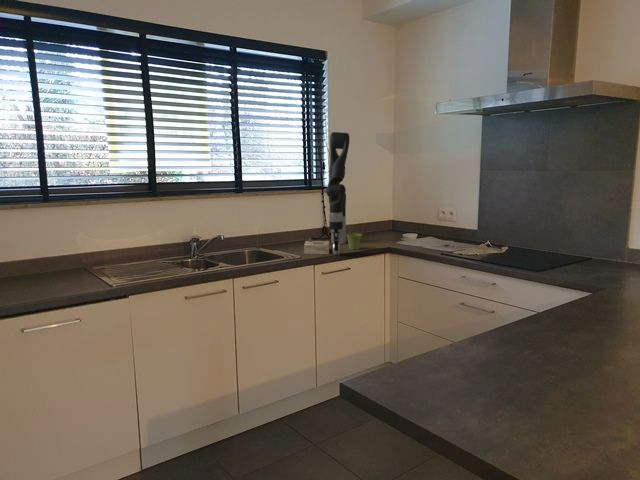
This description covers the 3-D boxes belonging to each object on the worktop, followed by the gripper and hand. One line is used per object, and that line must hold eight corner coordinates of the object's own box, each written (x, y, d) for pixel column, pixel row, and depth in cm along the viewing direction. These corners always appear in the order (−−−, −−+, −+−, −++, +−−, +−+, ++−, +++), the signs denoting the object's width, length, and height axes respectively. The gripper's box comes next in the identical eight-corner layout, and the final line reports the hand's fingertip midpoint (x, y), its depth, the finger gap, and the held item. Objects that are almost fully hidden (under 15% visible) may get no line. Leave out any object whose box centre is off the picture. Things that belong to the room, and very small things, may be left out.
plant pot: (354, 251, 272) (354, 236, 271) (343, 248, 280) (343, 234, 278) (365, 249, 278) (365, 234, 277) (354, 247, 285) (354, 233, 284)
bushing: (332, 253, 264) (332, 243, 263) (339, 253, 264) (339, 243, 263) (332, 255, 260) (332, 244, 259) (339, 255, 260) (339, 244, 259)
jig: (305, 249, 280) (305, 237, 278) (329, 249, 279) (329, 237, 278) (304, 254, 264) (304, 242, 263) (329, 254, 263) (328, 241, 262)
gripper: (329, 219, 266) (329, 247, 269) (329, 222, 252) (329, 252, 255) (342, 218, 266) (342, 247, 269) (343, 221, 252) (343, 252, 255)
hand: (336, 249), depth 262 cm, fingers open, 7 cm apart
